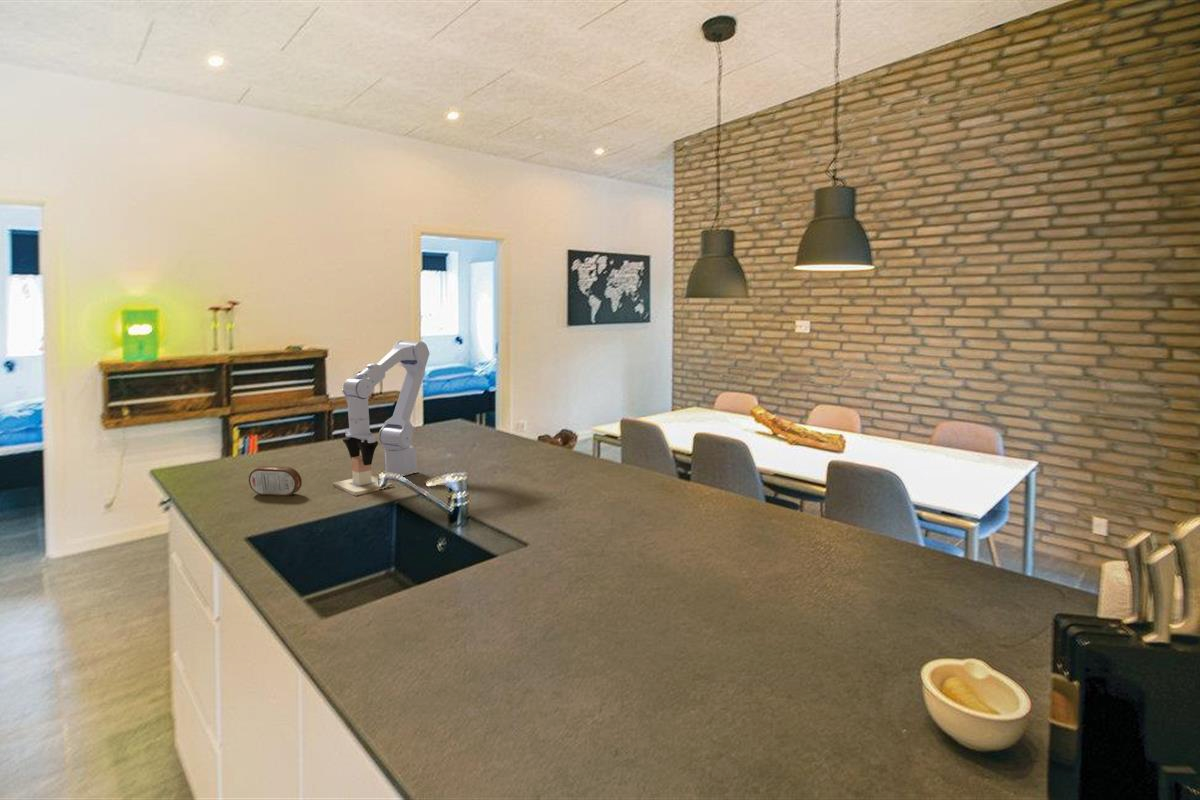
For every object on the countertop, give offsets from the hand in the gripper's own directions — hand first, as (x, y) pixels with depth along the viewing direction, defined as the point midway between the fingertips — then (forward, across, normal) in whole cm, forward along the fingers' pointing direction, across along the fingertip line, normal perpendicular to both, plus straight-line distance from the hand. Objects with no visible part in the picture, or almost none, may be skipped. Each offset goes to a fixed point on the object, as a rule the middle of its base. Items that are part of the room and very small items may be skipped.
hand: (361, 462), depth 187 cm
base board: (+8, 0, 0) cm, 8 cm away
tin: (+8, -11, -21) cm, 25 cm away
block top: (+2, 0, 0) cm, 2 cm away
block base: (+6, 0, 0) cm, 6 cm away
